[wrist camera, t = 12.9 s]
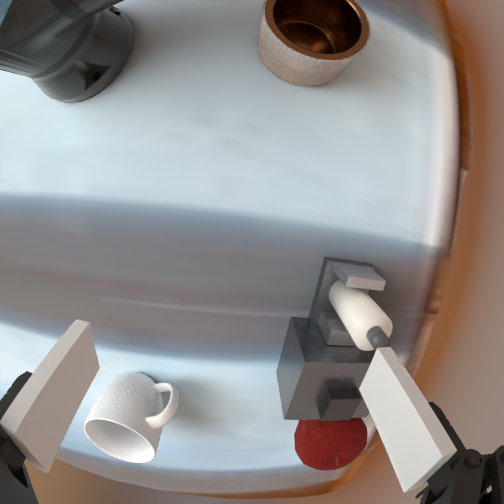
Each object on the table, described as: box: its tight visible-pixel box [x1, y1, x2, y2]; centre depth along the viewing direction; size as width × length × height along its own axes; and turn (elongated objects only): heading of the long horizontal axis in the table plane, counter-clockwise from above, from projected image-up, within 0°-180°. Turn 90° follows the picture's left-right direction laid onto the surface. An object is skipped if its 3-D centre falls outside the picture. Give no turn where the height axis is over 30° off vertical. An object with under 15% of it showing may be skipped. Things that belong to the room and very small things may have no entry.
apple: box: [294, 417, 367, 470], centre depth 38 cm, size 12×12×13 cm
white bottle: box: [329, 280, 393, 351], centre depth 30 cm, size 4×4×12 cm
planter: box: [258, 0, 370, 86], centre depth 24 cm, size 11×11×10 cm
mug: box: [84, 372, 180, 463], centre depth 35 cm, size 15×11×13 cm
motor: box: [277, 257, 386, 421], centre depth 34 cm, size 22×12×12 cm, turn 171°
